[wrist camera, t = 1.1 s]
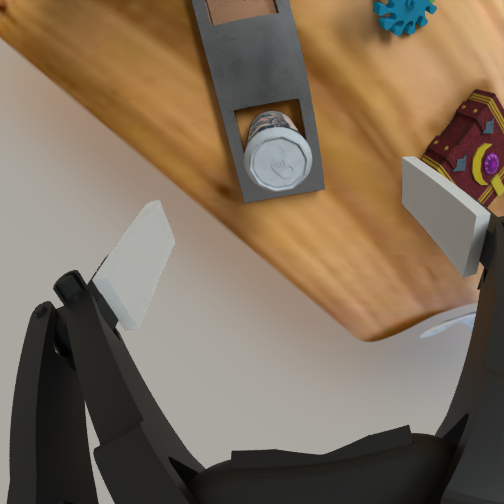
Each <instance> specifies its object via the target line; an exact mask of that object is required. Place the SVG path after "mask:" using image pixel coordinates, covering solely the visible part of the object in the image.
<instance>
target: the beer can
mask: <svg viewBox="0 0 504 504" xmlns="http://www.w3.org/2000/svg"><path fill="white" fill-rule="evenodd" d="M244 165H245V169H246V172H247V174H248V175H249V177H250V178H251V180H252V181H253V182H254V183H255V184H257V185H258V186H260V187H261V188H263V189H266V190H270V191H276V192H280V191H286V190H290V189H293V188H295V187H297V186H298V185H299V184H301V183H302V182H303V181H304V180H305V178H306V177H307V176H308V174H309V172H310V170H311V165H312V153H311V149H310V147H309V145H308V143H307V142H306V140H305V139H304V138H303V137H302V135H301V134H300V133H299V131H298V130H297V128H296V127H295V126H294V124H293V123H292V121H291V119H290V118H289V117H288V116H286V115H285V114H283V113H281V112H277V111H266V112H263V113H261V114H259V115H258V116H257V117H256V118H255V119H254V120H253V121H252V123H251V125H250V129H249V136H248V141H247V147H246V150H245V153H244Z"/></svg>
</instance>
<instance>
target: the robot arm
mask: <svg viewBox="0 0 504 504" xmlns="http://www.w3.org/2000/svg"><path fill="white" fill-rule="evenodd" d="M402 204H403V206H404V207H405V208H406V209H407V210H408V211H409V212H410V213H411V214H412V215H413V217H414V218H415V219H416V220H417V221H418V222H419V223H420V225H421V226H422V227H423V228H424V229H425V230H426V232H427V233H428V234H429V235H430V236H431V237H432V239H433V240H434V241H435V242H436V244H437V245H438V246H439V247H440V249H441V250H442V251H443V252H444V254H445V255H446V256H447V257H448V259H449V260H450V261H451V263H452V264H453V265H454V267H455V268H456V269H457V271H458V272H459V273H460V275H461V276H462V278H463V277H467V276H470V275H474V274H476V272H477V268H478V265H479V261H480V262H481V264H482V265H483V266H484V270H483V273H482V276H481V279H480V282H479V285H478V288H477V289H478V290H480V294H479V300H478V306H477V312H476V317H475V322H474V327H473V332H472V336H471V340H470V344H469V348H468V352H467V356H466V359H465V363H464V367H463V370H462V373H461V376H460V380H459V383H458V385H457V389H456V391H455V394H454V397H453V400H452V402H451V405H450V408H449V410H448V413H447V415H446V417H445V419H444V421H443V422H442V424H441V426H440V427H439V429H438V431H437V432H436V434H435V436H434V435H429V434H420V433H411V431H410V427H409V425H406V426H403V427H399V428H396V429H393V430H388V431H385V432H381V433H377V434H373V435H368V436H366V437H364V438H362V439H360V440H358V441H355V442H353V443H351V444H349V445H346V446H344V447H342V448H340V449H337V450H335V451H332V452H329V453H327V454H323V455H316V454H306V453H298V452H290V451H283V450H276V449H271V450H248V451H247V450H246V451H232V453H231V460H227V461H224V462H221V463H218V464H216V465H214V466H211V467H209V468H208V469H205V468H204V467H203V466H202V465H201V464H200V463H199V462H198V461H197V460H196V459H195V458H194V457H193V456H192V455H191V454H190V452H189V451H188V450H187V448H186V447H185V446H184V444H183V443H182V441H181V440H180V438H179V437H178V435H177V434H176V433H175V431H174V429H173V428H172V426H171V425H170V423H169V422H168V420H167V419H166V417H165V416H164V414H163V413H162V411H161V409H160V408H159V406H158V404H157V403H156V401H155V399H154V398H153V396H152V394H151V392H150V391H149V389H148V387H147V385H146V384H145V382H144V380H143V379H142V377H141V375H140V373H139V371H138V369H137V367H136V365H135V363H134V361H133V360H132V358H131V356H130V354H129V352H128V350H127V348H126V346H125V344H124V341H123V339H122V337H121V335H120V333H119V332H118V330H117V329H116V328H115V327H116V324H117V322H118V321H119V322H120V323H121V325H122V326H123V328H124V329H125V330H135V329H140V327H141V325H142V322H143V320H144V317H145V314H146V312H147V309H148V307H149V304H150V302H151V299H152V297H153V294H154V292H155V289H156V287H157V284H158V282H159V280H160V277H161V275H162V273H163V270H164V268H165V265H166V263H167V261H168V259H169V256H170V254H171V252H172V250H173V248H174V245H175V243H176V241H175V238H174V236H173V233H172V231H171V228H170V226H169V223H168V221H167V218H166V215H165V213H164V210H163V208H162V205H161V202H160V200H156V201H152V202H149V203H147V204H146V205H145V207H144V208H143V209H142V211H141V212H140V213H139V214H138V215H137V217H136V218H135V219H134V221H133V222H132V224H131V225H130V226H129V228H128V229H127V230H126V231H125V233H124V234H123V236H122V237H121V238H120V240H119V241H118V243H117V244H116V245H115V247H114V248H113V250H112V251H111V252H110V254H109V255H108V256H107V257H106V258H105V259H104V260H103V262H102V263H101V266H99V268H98V269H97V272H95V274H94V275H93V277H92V278H91V280H90V281H89V283H88V285H87V284H86V283H85V281H84V280H83V278H82V276H81V275H80V273H79V272H78V271H77V270H73V271H70V272H68V273H66V274H64V275H63V276H62V277H60V278H59V279H58V281H57V282H56V283H55V285H54V288H53V289H54V291H55V292H56V294H57V295H58V297H59V298H60V300H61V301H62V302H63V304H64V306H62V307H60V308H57V309H55V307H54V306H53V304H52V303H51V302H50V301H47V302H44V303H42V304H39V305H38V307H36V308H35V310H34V311H33V313H32V315H31V318H30V321H29V325H28V328H27V332H26V336H25V340H24V344H23V349H22V353H21V358H20V362H19V367H18V373H17V378H16V384H15V391H14V399H13V406H12V416H11V429H10V484H9V491H8V499H7V504H99V503H98V498H97V492H96V487H95V482H94V477H93V471H92V465H91V459H90V452H89V445H88V437H87V427H86V415H85V402H86V405H87V408H88V411H89V414H90V417H91V420H92V423H93V426H94V429H95V431H96V434H97V436H98V439H99V442H100V446H99V447H96V448H95V449H94V452H93V454H94V458H95V461H96V464H97V466H98V469H99V471H100V473H101V475H102V478H103V480H104V482H105V484H106V486H107V489H108V491H109V493H110V495H111V497H112V499H113V501H114V503H115V504H504V216H501V217H497V216H496V215H495V214H493V213H492V212H491V211H490V210H489V209H488V208H486V207H485V206H483V204H482V203H480V202H478V200H477V199H476V198H474V197H473V196H472V195H470V194H468V193H466V192H464V191H463V190H461V189H460V188H459V187H457V186H456V185H455V184H453V183H452V182H451V181H449V180H448V179H447V178H445V177H444V176H442V175H441V174H440V173H438V172H437V171H435V170H434V169H432V168H431V167H429V166H428V165H426V164H425V163H423V162H422V161H420V160H419V159H417V158H416V157H414V156H410V157H402ZM55 350H56V351H57V353H56V351H55Z"/></svg>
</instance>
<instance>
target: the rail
mask: <svg viewBox="0 0 504 504" xmlns="http://www.w3.org/2000/svg"><path fill="white" fill-rule="evenodd" d="M274 2H275V5H276V8H275V5H274ZM207 3H208V6H209V9H208V6H207ZM192 4H193V8H194V11H195V15H196V19H197V23H198V26H199V30H200V34H201V38H202V42H203V45H204V49H205V53H206V57H207V61H208V64H209V68H210V72H211V76H212V80H213V83H214V87H215V91H216V95H217V99H218V102H219V106H220V110H221V114H222V118H223V122H224V126H225V129H226V133H227V137H228V141H229V145H230V149H231V153H232V156H233V160H234V164H235V168H236V172H237V176H238V180H239V184H240V188H241V191H242V195H243V199H244V203H249V202H254V201H259V200H265V199H270V198H276V197H282V196H288V195H293V194H300V193H306V192H312V191H318V190H325V186H324V178H323V170H322V162H321V155H320V148H319V141H318V134H317V128H316V122H315V116H314V110H313V105H312V99H311V94H310V89H309V83H308V79H307V74H306V69H305V64H304V60H303V55H302V51H301V46H300V42H299V38H298V34H297V30H296V26H295V22H294V18H293V14H292V11H291V7H290V4H289V0H274V1H273V0H207V2H206V0H192ZM276 9H277V12H276ZM209 10H210V13H209ZM210 14H211V17H212V20H211V17H210ZM212 21H213V24H212ZM213 25H214V26H213ZM291 99H298V104H299V109H300V114H301V120H302V125H303V131H304V137H305V140H306V142H307V143H308V145H309V147H310V149H311V153H312V165H311V170H310V172H309V174H308V176H307V177H306V178H305V180H304V181H303V182H302V183H301V184H299V185H298V186H297V187H295V188H293V189H290V190H286V191H280V192H276V191H270V190H266V189H263V188H261V187H260V186H258V185H257V184H255V183H254V182H253V181H252V180H251V178H250V177H249V175H248V174H247V172H246V169H245V165H244V153H245V150H244V146H243V142H242V138H241V134H240V130H239V126H238V122H237V118H236V114H235V110H237V109H242V108H247V107H252V106H257V105H262V104H267V103H273V102H279V101H285V100H291Z"/></svg>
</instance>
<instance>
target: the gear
mask: <svg viewBox="0 0 504 504" xmlns="http://www.w3.org/2000/svg"><path fill="white" fill-rule="evenodd" d="M433 2H434V0H388V4H387V5H386V6H385V5H383V4H382V3H380V2H374V5H373V12H375V13H377V14H378V15H380V16H382V15H385V14H387V13H391V15H390V16H389V17H381V18H379V19H378V22H379V25H380V27H382V28H383V29H385V30H390V31H391V32H392V33H394V34H395V35H397V36H400V35H401V34H402V31H405V32H406V33H407V34H414V32H415V23H417V24H418V25H420V26H421V27H423V26H424V25H426V24H427V22H428V21H427V19H426V18H425V10H426V11H427V12H429V13H430V14H433V13H434V12H435V11H436V9H437V7H436V6H434V5H433V4H431V3H433ZM396 22H397V23H396ZM394 23H395V24H394Z"/></svg>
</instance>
